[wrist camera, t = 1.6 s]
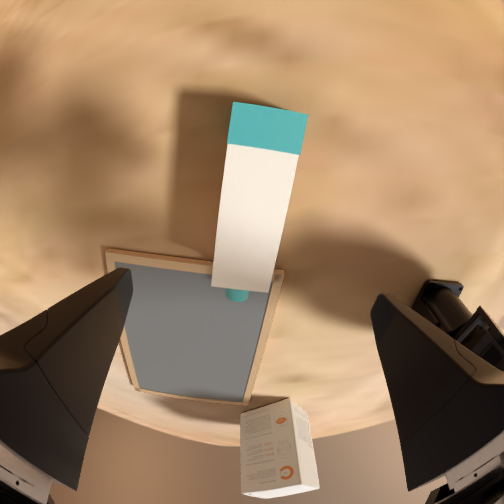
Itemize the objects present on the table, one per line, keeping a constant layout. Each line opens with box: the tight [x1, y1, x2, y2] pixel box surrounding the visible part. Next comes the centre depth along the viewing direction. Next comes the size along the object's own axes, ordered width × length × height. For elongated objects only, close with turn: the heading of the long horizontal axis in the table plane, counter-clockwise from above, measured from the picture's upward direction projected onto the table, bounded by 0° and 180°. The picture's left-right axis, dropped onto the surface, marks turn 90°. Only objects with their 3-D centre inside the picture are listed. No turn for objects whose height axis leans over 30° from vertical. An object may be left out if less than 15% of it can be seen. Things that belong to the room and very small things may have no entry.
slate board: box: [105, 248, 285, 406], centre depth 27 cm, size 15×21×1 cm
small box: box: [240, 398, 320, 498], centre depth 30 cm, size 8×6×13 cm
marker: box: [211, 102, 308, 302], centre depth 19 cm, size 4×14×4 cm, turn 171°
